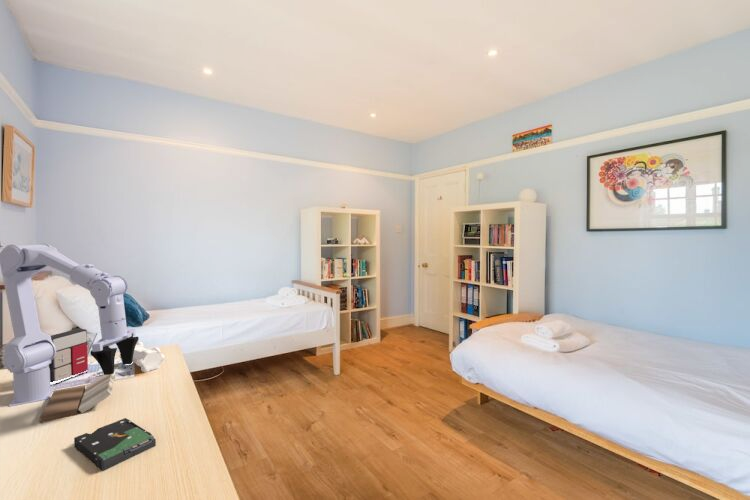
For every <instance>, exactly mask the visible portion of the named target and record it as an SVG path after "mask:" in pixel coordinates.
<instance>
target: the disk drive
mask: <svg viewBox="0 0 750 500" xmlns="http://www.w3.org/2000/svg"><path fill="white" fill-rule="evenodd" d="M73 440H74V441H73V443H74V444H73V445H74V448H75V450H77V452H79V453H81V454H82V455H83V456H84V457H86V458H87V460H88V461H90V462H91V463H93V465H94V466H95V467H96V468H97V469H99V470H100V471H102V472H105V471H107V470H109V469H111V468H113V467H115V466H117V465H120V464H121V463H123V462H125V461H127V460H129V459H132V458H134V457H135V456H137V455H141V454H142V453H144V452H146V451H148V450H150V449H152V448H155V447H156V445H157V443H156V442H157V441H156V438H154V435H152V433H151V432H149V431H147V430H146V429H145V428H143V427H142V426H139V425H138V424H136V423H134V422H133V421H132V420H130V419H128V418H126V417H125V418H121V419H119V420H116V421H115V422H112V423H109V424H106V425H104V426H101V427H98V428H97V429H96V430H95V431H93V432H92V433H88V432H85V433H83V434H80V435H78V436H75V437H74V438H73Z"/></svg>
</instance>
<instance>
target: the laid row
mask: <svg viewBox="0 0 750 500" xmlns="http://www.w3.org/2000/svg"><path fill="white" fill-rule="evenodd" d="M85 389H86V385H81V386H76V387H75V386H74V387H70V388H64V389H59V390H53V392H52V394H51V396H50V397H49V399H48V402H47V403H46V405H45V407H44V409H43V410H42V413H41V414H40V416H39V423H40V424H41V423H47V422H50V421H55V420H60V419H64V418H69V417H74V416H78V413H79V410H78V409H79V406H80V403H81V401H82V398H83V395H84V392H85Z"/></svg>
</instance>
